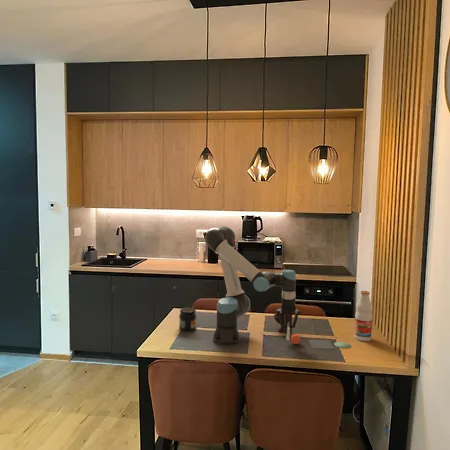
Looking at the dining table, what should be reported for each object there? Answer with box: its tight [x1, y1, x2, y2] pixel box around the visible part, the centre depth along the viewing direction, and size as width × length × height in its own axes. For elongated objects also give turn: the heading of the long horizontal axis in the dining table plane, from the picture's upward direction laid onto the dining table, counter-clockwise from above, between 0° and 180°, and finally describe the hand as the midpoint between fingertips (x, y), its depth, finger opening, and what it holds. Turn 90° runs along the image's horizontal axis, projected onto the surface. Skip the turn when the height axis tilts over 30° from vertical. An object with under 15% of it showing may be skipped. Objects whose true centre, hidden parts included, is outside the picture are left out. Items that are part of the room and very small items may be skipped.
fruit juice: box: [353, 290, 374, 342], centre depth 221 cm, size 9×9×28 cm
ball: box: [290, 333, 301, 345], centre depth 211 cm, size 6×6×6 cm
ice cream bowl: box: [273, 306, 289, 333], centre depth 231 cm, size 11×11×15 cm
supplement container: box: [178, 307, 197, 332], centre depth 231 cm, size 10×10×12 cm
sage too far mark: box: [333, 341, 352, 349], centre depth 211 cm, size 9×9×1 cm
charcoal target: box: [307, 339, 336, 350], centre depth 211 cm, size 12×12×1 cm
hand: (287, 339), depth 211 cm, fingers closed
